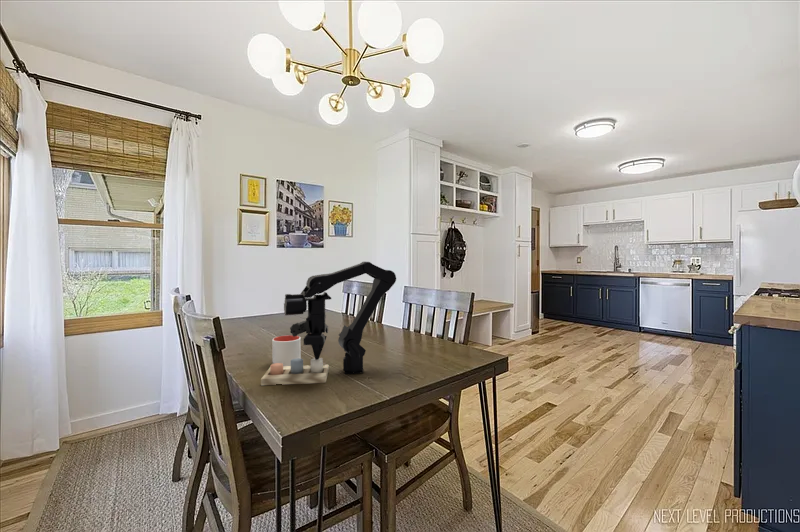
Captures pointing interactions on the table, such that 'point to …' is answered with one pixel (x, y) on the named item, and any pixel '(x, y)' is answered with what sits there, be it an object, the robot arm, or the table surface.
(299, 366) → the button slate
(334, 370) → the table surface
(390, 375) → the table surface
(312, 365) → the button cream
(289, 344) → the cup
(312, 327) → the robot arm
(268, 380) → the board
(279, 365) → the button terracotta
